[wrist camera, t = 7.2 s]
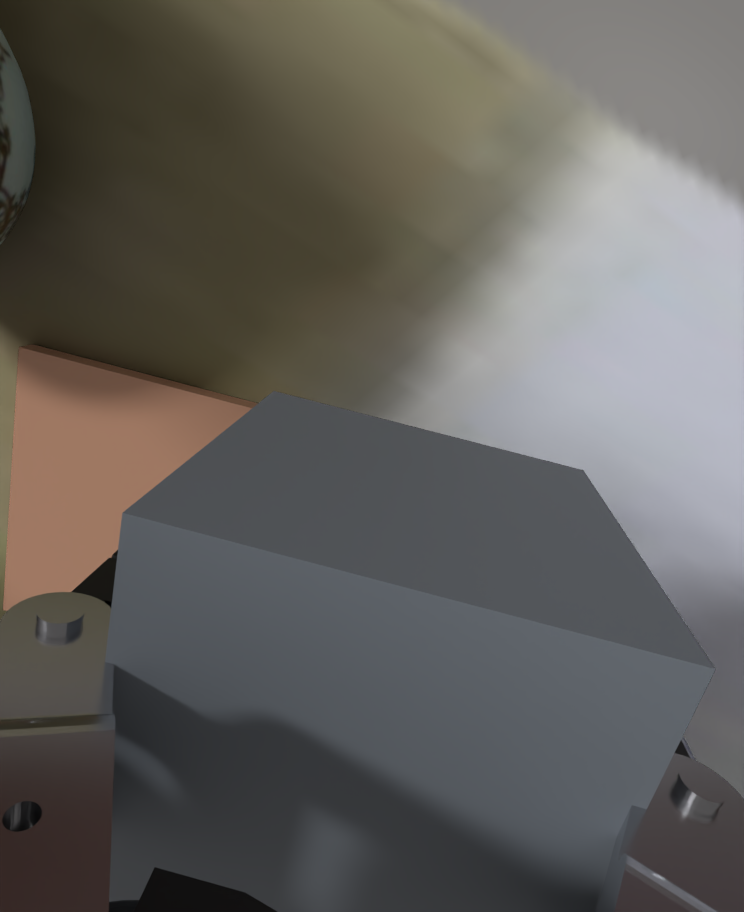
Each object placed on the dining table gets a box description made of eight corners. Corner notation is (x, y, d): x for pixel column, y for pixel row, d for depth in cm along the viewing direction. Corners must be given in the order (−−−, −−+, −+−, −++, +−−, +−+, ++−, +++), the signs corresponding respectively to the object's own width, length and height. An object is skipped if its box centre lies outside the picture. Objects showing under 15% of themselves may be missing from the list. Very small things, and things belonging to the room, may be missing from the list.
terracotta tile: (32, 344, 29) (18, 347, 28) (323, 420, 29) (319, 425, 28) (15, 599, 34) (3, 610, 33) (267, 669, 33) (262, 681, 32)
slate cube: (273, 391, 12) (121, 512, 6) (583, 470, 12) (716, 669, 6) (224, 652, 14) (73, 926, 8) (490, 723, 14) (525, 1053, 8)
